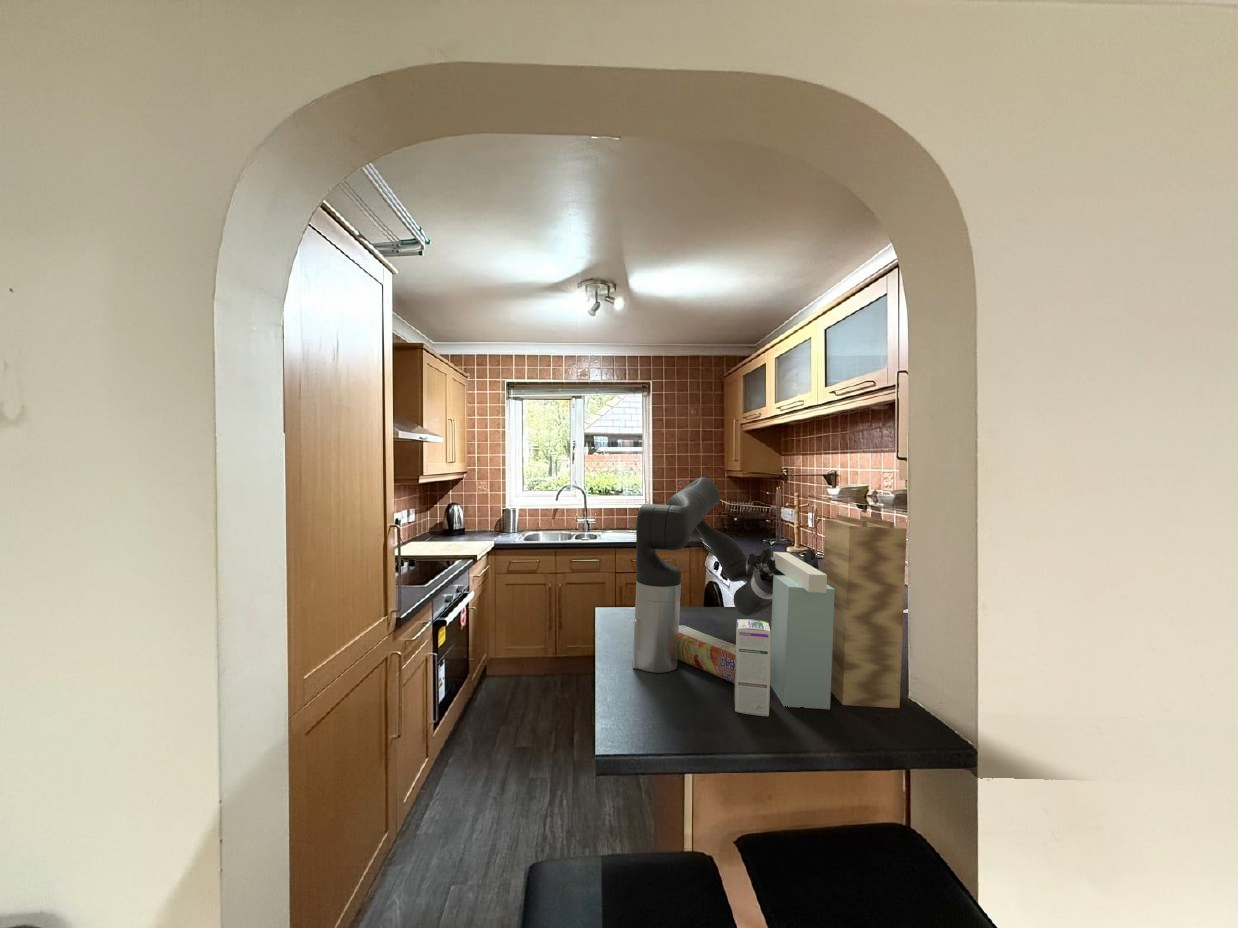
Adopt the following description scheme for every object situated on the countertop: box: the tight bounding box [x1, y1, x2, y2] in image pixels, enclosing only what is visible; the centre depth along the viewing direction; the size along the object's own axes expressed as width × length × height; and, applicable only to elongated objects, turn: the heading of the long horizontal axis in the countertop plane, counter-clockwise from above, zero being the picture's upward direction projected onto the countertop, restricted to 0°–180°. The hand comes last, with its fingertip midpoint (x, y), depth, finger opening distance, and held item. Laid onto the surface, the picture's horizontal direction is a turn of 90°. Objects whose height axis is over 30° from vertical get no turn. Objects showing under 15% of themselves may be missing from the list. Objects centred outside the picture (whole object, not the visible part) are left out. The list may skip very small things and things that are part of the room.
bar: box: [772, 551, 827, 593], centre depth 99 cm, size 3×23×3 cm, turn 178°
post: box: [770, 575, 835, 710], centre depth 95 cm, size 8×10×21 cm
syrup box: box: [734, 618, 771, 717], centre depth 90 cm, size 6×6×14 cm
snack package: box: [677, 625, 736, 685], centre depth 106 cm, size 21×7×7 cm, turn 41°
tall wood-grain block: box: [822, 514, 907, 709], centre depth 98 cm, size 10×12×33 cm
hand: (790, 553), depth 103 cm, fingers open, 8 cm apart
